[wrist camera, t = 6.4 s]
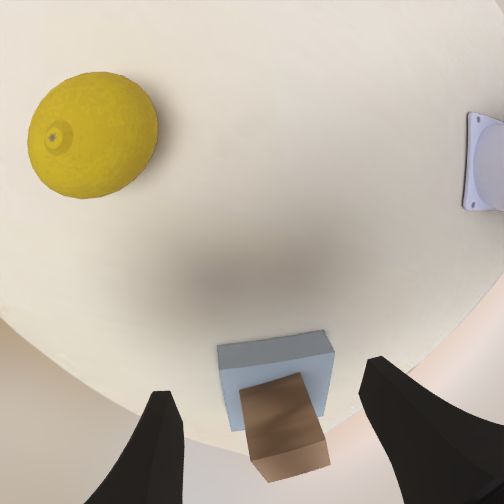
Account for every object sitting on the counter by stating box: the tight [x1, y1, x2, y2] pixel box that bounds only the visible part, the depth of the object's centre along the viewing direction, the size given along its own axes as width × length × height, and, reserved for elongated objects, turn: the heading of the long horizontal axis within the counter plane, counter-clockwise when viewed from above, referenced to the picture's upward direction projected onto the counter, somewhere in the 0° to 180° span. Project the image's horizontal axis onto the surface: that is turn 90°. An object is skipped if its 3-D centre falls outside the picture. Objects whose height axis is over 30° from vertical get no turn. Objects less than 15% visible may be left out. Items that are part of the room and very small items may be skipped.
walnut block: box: [239, 372, 330, 483], centre depth 18 cm, size 4×4×6 cm
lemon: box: [27, 72, 158, 199], centre depth 11 cm, size 6×6×8 cm
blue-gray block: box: [217, 330, 335, 432], centre depth 22 cm, size 8×8×3 cm
